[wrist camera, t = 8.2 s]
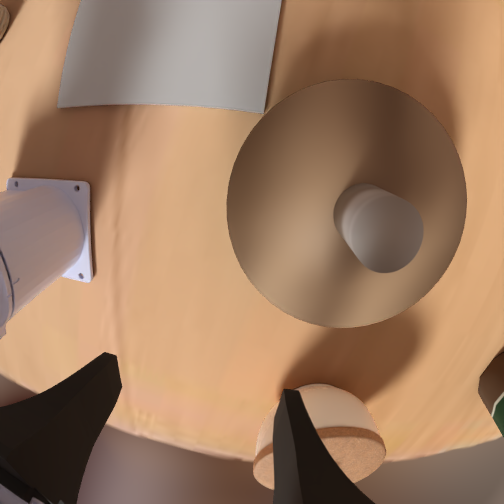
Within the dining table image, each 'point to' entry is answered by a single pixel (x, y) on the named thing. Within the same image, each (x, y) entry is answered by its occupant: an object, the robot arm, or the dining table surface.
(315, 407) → the lidded jar
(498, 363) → the beer bottle
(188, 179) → the dining table surface
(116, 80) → the mat
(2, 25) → the carving
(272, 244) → the lid
